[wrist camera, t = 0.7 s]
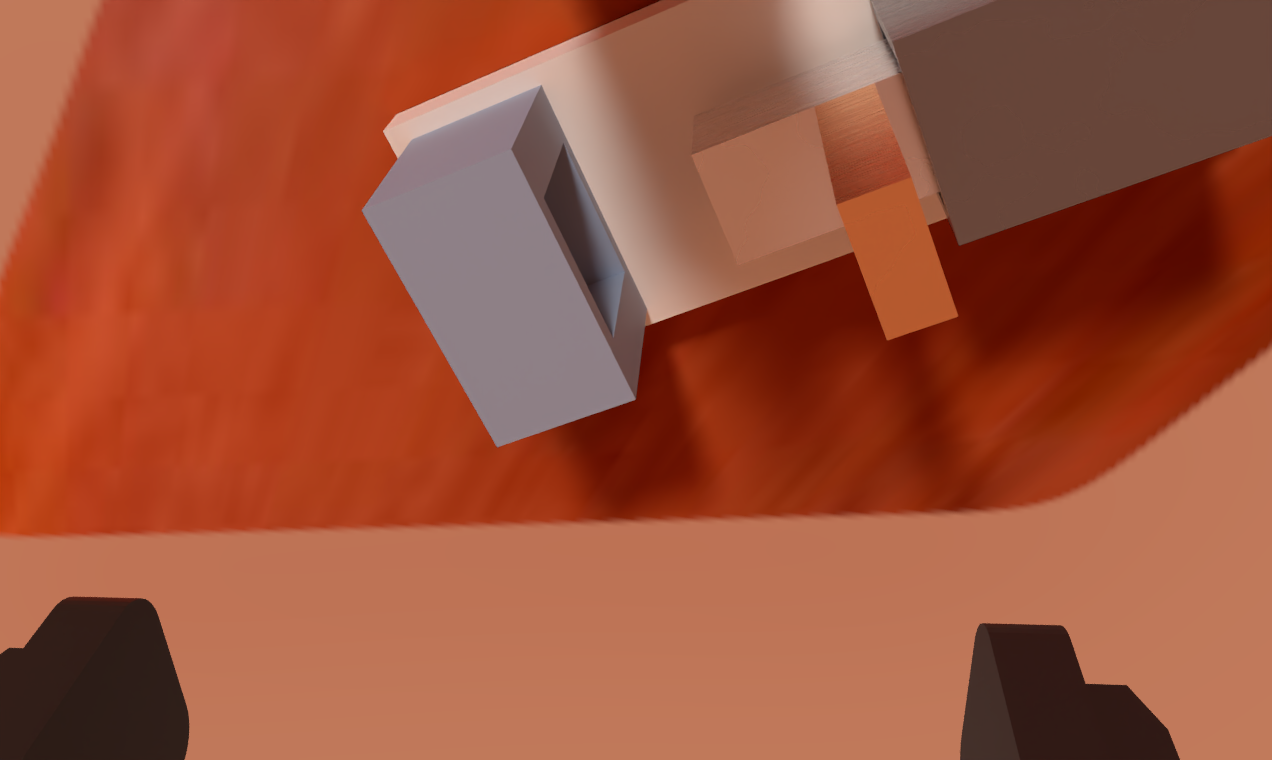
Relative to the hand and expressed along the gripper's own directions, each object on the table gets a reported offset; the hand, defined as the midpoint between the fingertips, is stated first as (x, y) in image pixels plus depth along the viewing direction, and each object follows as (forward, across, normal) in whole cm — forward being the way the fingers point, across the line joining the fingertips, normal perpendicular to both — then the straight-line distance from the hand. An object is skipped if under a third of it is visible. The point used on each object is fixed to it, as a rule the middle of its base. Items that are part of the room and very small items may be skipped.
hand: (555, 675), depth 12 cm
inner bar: (+21, -7, 0) cm, 22 cm away
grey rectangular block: (+22, -9, -1) cm, 24 cm away
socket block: (+22, +4, +4) cm, 23 cm away
